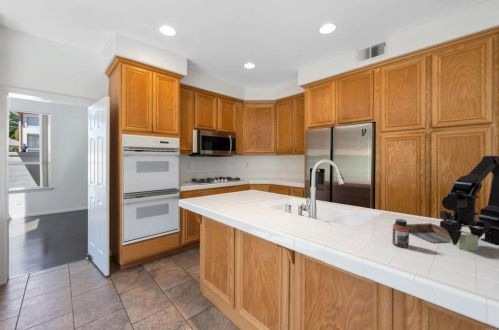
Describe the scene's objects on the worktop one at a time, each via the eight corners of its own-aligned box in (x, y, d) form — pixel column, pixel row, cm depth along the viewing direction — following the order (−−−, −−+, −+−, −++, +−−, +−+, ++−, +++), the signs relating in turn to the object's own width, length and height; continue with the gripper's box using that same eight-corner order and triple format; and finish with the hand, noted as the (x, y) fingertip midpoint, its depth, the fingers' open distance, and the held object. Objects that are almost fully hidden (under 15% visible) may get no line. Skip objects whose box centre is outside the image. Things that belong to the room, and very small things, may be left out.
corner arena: (430, 230, 116) (430, 223, 115) (460, 241, 101) (460, 233, 101) (405, 231, 114) (405, 224, 114) (432, 243, 99) (432, 234, 99)
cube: (462, 244, 98) (463, 230, 98) (477, 250, 92) (478, 235, 92) (450, 244, 98) (451, 231, 97) (465, 250, 92) (466, 236, 91)
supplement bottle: (393, 241, 101) (393, 217, 100) (409, 245, 97) (410, 219, 97) (391, 245, 96) (392, 220, 96) (407, 249, 93) (409, 223, 92)
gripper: (464, 203, 103) (462, 236, 104) (428, 204, 101) (427, 238, 102) (493, 209, 92) (490, 246, 93) (454, 211, 90) (452, 248, 91)
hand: (463, 244), depth 95 cm, fingers open, 9 cm apart
